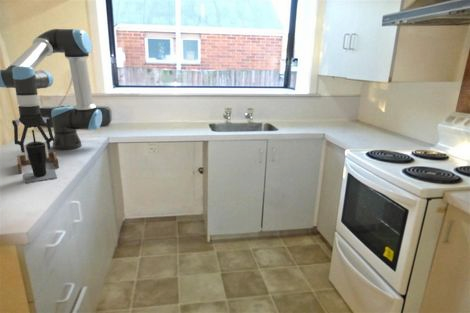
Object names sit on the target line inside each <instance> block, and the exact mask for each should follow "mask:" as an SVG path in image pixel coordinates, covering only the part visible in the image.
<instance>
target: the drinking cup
mask: <svg viewBox="0 0 470 313" xmlns="http://www.w3.org/2000/svg"><path fill="white" fill-rule="evenodd" d="M31 134H32V139H33V141H30V142H28V143H25V144H26V149H27V155H28V156H29V160H30V163H31V164H30V166H31V170H32V173H33V174H34V176H43V175H45V174H46V171H47V162H46V155H45V153H46V149H45V143H44V141H41V140H40V141H39V140H38V141H37V140H36V137H35V136H36V135H35V130H34V129H31Z"/></svg>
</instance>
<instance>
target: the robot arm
mask: <svg viewBox="0 0 470 313" xmlns="http://www.w3.org/2000/svg"><path fill="white" fill-rule="evenodd" d="M92 48H93V46H92V41H91V38H90V36H89V34H88V33H87V32H86V31H85V30H83V29H76V28H72V29H67V28H66V29H64V28H63V29H61V28H54V29H50V30H47V31H45V32H43V33H41V34H39V35H38V36H36V38H34V39H33V41H32V44H31V46H29V47H28V48H27V49H26V50H25V51H24V52H23V53H21V55H20V56H19V57H17V58H16V59H15V60H14V61H13V62H12V63H11V64H9V66H8V67H7V68H5V69H0V88H5V89H15V95H16V101H17V105H18V112H19V118H18V119H13V120H11V123H12V126H13V135H14V140H13V141H14V144H15V145H19V147H20V151H21V153H24V155H25V157H26V160H28V153H27V149H26V144H27V143H25V140H26V137H27V132H28V129H30V128H37V129H38V131H39V132H40V134H41V135H42V137H43V139H44V140H45V141H43V143H45V153H46V156H47V158H49V155H48V152H49V150H51V142H52V149H54V150H56V151H57V150H58V151H67V150H75V149H77V148H78V149H79V148H81V147H82V141H81V139H80V137H79V135H78V132H77V131H78V130H81V131H85V130H87V131H93V130H94V131H95V130H98V129H99V128H100V127H101V125H102V121H103V113H102V111H101V109H98V108H97V105H96V104H95V103H94V99H93V93H92V88H91V80H90V74H89V68H88V67H89V66H88V63H87V62H88V61H87V59H88V58H89V57H90V53H92V50H93V49H92ZM56 53H62V54H64V57H65V59H67V60H68V63H69V69H70V73H71V74H70V75H71V80H72V85H73V91H74V97H75V102H76V105H75V106H72V105H69V106H63V107H56V108H53V109H51V113H50V114H51V120H50V117H44V116H43V115H42V112H41V106H40V105H39V104H40V101H39V95H38V89H47V88H49V87H51V86H52V85H53V84H54V76H53V75H52V73H50V72H49V71H47V70H42V69H40V70H36V68H37V67H38V66H39V65H40V64H41V62H43V61H44V60H45V58H47V57H50V56H52V54H56ZM42 122H44V123H45V125H46V128H47V131H48V132H47V133H48V135H49V137H48V135H47V134H46V133H45V131H44V129H43V128H42V126H41V123H42ZM50 122H52V127H53V132H52V129H51V128H52V127H51V123H50ZM20 123H21V124H22V125H23V130H22V132H21V133H22V134H21V138H20V140H19V133H18V132H19V131H18V130H19V128H18V127H19V124H20ZM53 134H54V135H53Z"/></svg>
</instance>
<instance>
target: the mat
mask: <svg viewBox="0 0 470 313" xmlns="http://www.w3.org/2000/svg"><path fill="white" fill-rule="evenodd" d="M23 178H24V184H25V183H26V184H31V183H30V182H32V183H36V182H35V181H39V182H42V181H41V180H45V181H48V180H47V179H51V180H54V179H53V178H57V179H58V175H57V174H56V170H55V169H54V168H53V169H46V174H45V175H43V176H34V174H33V172H28V173H24V176H23Z"/></svg>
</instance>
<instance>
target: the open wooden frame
mask: <svg viewBox="0 0 470 313" xmlns="http://www.w3.org/2000/svg"><path fill="white" fill-rule="evenodd" d="M45 155H46V152H45ZM48 155H49V158H47V156H46V163H47V162H48V163H49V162H54V164H55V168H56V169H59V168H60V165H59V160H58V156H57V153H56V151H48ZM16 163H17V169H18V174H20V175H21V174H22V173H23V171H22V170H23V168H22V165H25V166H26V165H29V164H30V165H31V163H30V160H29V156H28V160H26V157H25V154H22V155H21V154H19V155H17V162H16Z"/></svg>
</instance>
